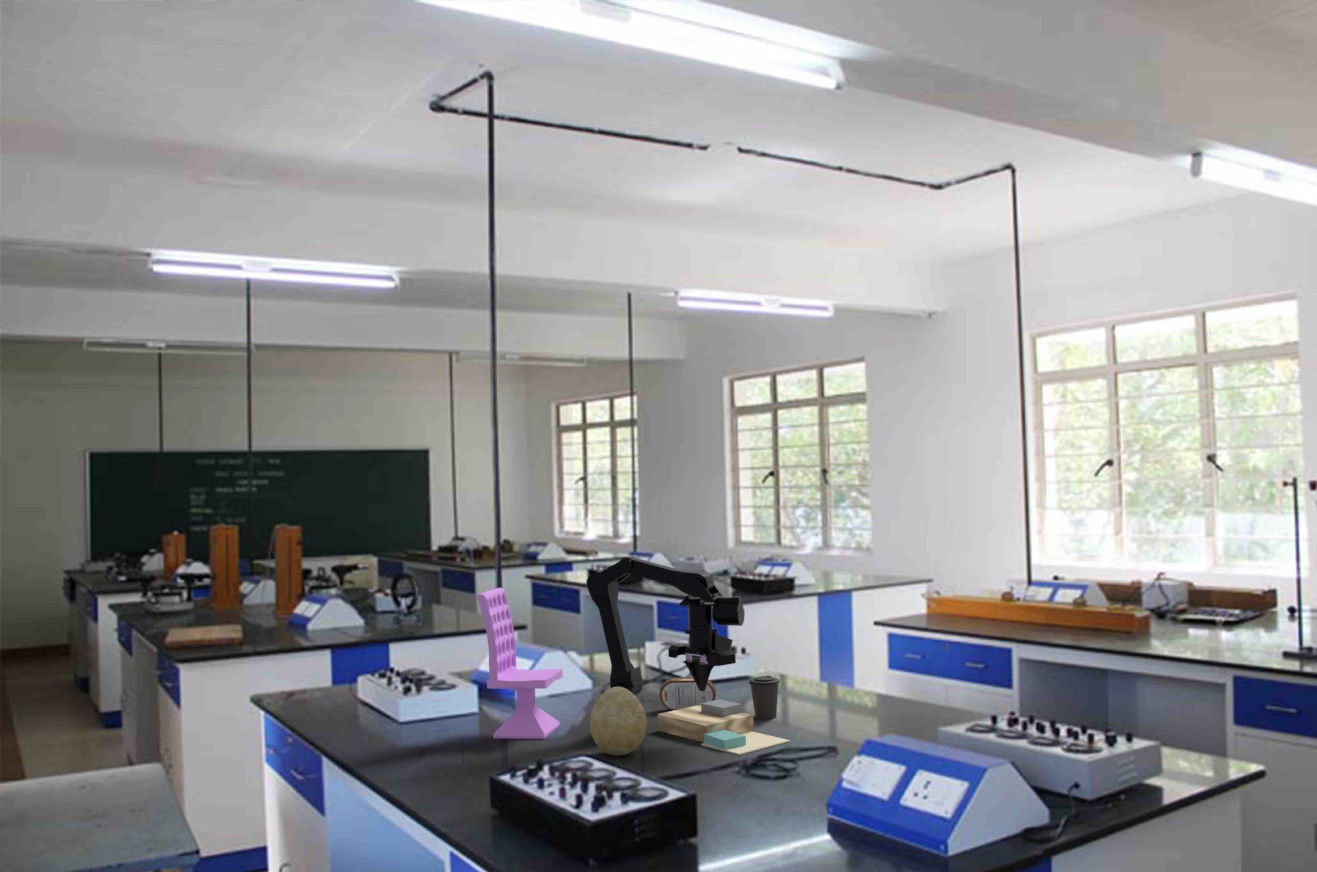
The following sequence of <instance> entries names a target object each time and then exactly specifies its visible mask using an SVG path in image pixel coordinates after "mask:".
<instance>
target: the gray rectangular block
mask: <svg viewBox="0 0 1317 872" xmlns="http://www.w3.org/2000/svg"><path fill="white" fill-rule="evenodd" d="M742 710H743V709H742V703H738V702H735V701H733V702H732V701H728V700H723V699H715V700H714V701H710V702H705V703H701V712H705V713H710V714H714V715H719V716H723V717H724V716H728V715H732V714H737V713H741V712H742ZM742 713H743V712H742Z"/></svg>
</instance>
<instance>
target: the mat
mask: <svg viewBox="0 0 1317 872" xmlns="http://www.w3.org/2000/svg"><path fill="white" fill-rule="evenodd" d="M741 735H744V736H746V745H743V746H739V747H734V748H729V749H722V748H719V747H716V746H713V745H710V744H707V743H704V742H701V743H700V746H703V747H707V748H710V749H714V750H718V751H722V752H725V753H730V754H734V755H737V756H742V755H745V754H749V753H752V752H756V751H760V750H764V749H767V748H772V747H775V746H779V745H783V744H787V743H789V742H791V740H789V739H785V738H783V737H782V738H781V737H778V736H777V737H776V736H774V735H769V734H765V733H764V734H763V733H762V732H761V733H760V732H756V731H754V732H752V731H750V732H746V733H742V734H741Z"/></svg>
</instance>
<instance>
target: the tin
mask: <svg viewBox="0 0 1317 872" xmlns="http://www.w3.org/2000/svg"><path fill="white" fill-rule="evenodd" d="M716 698H717V689H716V686H715V684H713V682H712V681H710V680H709V679H708V682H707V685H706V688H705V691H700V690H699V689H698V687H697V685H696V682H695V680H694V678H693V677H671V678H668V679H666V680H665V681H664V682H663V683H662V684H661V686H660V689H659V700H660V702H661V704H662V705H663V706H664V707H665V708H666V709H668V710H669V711H674V710H679V709H683V708H688V707H693V706H697V705H701V703H705V702H710V701H714V700H716Z"/></svg>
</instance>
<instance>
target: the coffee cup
mask: <svg viewBox="0 0 1317 872" xmlns="http://www.w3.org/2000/svg"><path fill="white" fill-rule="evenodd" d="M780 683H781V680H780V679H779V678H777V677H773V676H771V675H766V676H765V675H762V676H756V677H754V678H751V679H749V681H748V684H750V690H751V696H752V703H753V704H752V705H753V710H754V717H755V719H758V720H772V719H776V718H777V713H778V712H777V711H778V699H779V698H778V696H779V684H780Z"/></svg>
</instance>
